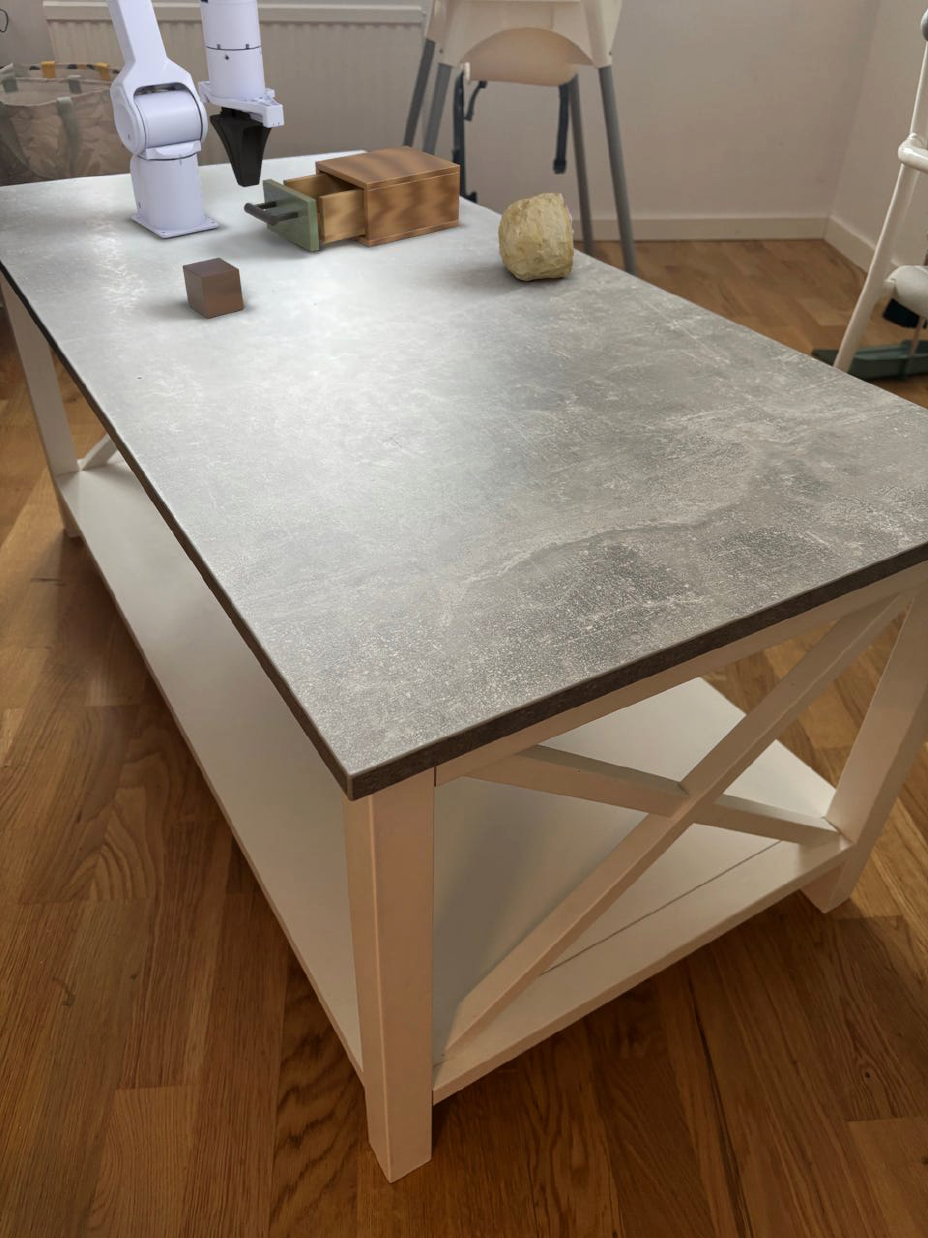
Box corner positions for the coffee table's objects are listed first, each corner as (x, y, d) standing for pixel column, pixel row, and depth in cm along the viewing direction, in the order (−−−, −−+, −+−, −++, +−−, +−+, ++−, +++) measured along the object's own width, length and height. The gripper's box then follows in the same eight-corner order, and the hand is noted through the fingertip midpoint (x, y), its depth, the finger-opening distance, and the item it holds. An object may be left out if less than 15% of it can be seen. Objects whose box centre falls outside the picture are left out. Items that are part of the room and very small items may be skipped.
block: (188, 305, 105) (182, 265, 102) (224, 296, 107) (219, 256, 104) (207, 318, 102) (201, 277, 99) (244, 309, 104) (239, 268, 102)
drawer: (281, 258, 114) (277, 207, 111) (238, 234, 120) (232, 185, 117) (400, 230, 123) (399, 182, 119) (354, 209, 129) (352, 163, 125)
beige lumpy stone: (609, 228, 107) (533, 193, 103) (564, 308, 113) (490, 277, 109) (587, 195, 114) (515, 161, 110) (546, 272, 120) (476, 242, 116)
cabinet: (369, 247, 121) (366, 183, 116) (318, 222, 127) (314, 161, 123) (458, 225, 128) (460, 164, 123) (406, 203, 135) (406, 145, 130)
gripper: (304, 52, 97) (314, 193, 106) (232, 31, 105) (247, 164, 114) (242, 59, 93) (258, 205, 102) (173, 37, 102) (193, 173, 110)
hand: (248, 184), depth 108 cm, fingers closed
